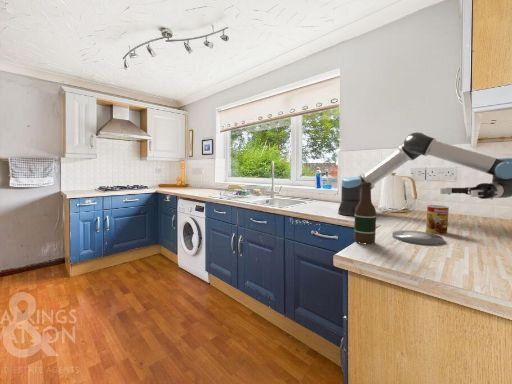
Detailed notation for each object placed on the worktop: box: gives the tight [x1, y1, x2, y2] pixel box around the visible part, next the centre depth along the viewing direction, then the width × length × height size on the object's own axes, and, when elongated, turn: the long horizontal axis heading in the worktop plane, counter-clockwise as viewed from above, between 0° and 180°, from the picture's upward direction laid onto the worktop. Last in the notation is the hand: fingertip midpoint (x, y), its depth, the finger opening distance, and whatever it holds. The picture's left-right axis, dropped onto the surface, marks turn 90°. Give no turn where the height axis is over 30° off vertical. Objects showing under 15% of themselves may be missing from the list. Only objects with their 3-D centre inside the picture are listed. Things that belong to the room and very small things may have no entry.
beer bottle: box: [353, 182, 377, 245], centre depth 99 cm, size 8×8×24 cm
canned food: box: [425, 204, 450, 235], centre depth 114 cm, size 8×8×12 cm
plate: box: [392, 229, 445, 246], centre depth 104 cm, size 18×18×1 cm
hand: (455, 192), depth 115 cm, fingers open, 13 cm apart
